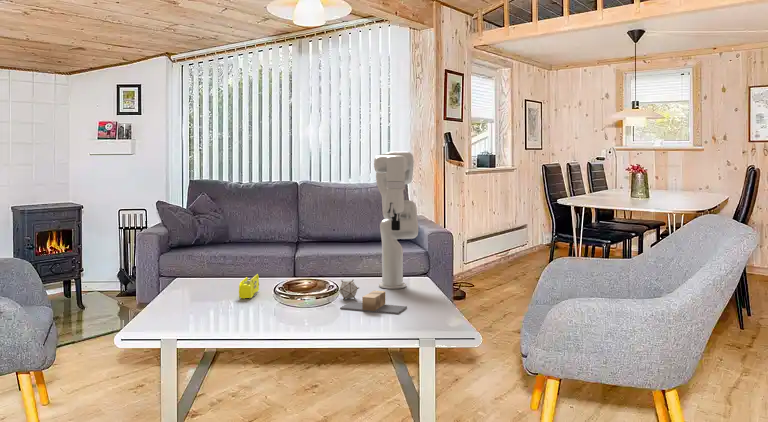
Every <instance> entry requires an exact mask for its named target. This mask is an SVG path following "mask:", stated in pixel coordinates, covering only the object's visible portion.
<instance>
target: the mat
mask: <svg viewBox="0 0 768 422" xmlns="http://www.w3.org/2000/svg"><path fill="white" fill-rule="evenodd" d="M407 308H408V306H406V305H394V304H386V303H385V304H384V305H383V306H381V307H380V308H378V309H377V310H375V311H371V310H362V301H359V302H357V301H350V302H348V303H346V304H344V305H342V306H340V308H339V309H340V310H344V311H345V310H347V311H355V312H356V311H359V312H368V313H381V314H389V315H390V314H392V315H400V314H401V313H402V312H404V311H405V310H406V309H407Z"/></svg>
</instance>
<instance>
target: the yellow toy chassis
mask: <svg viewBox="0 0 768 422" xmlns="http://www.w3.org/2000/svg"><path fill="white" fill-rule="evenodd" d="M259 290H260V277H259V274H258V273H257V274H255V275H254V276H253V277H251V278H250V277H249V278H248V276H246V277H244V279H242V280H241V281H240V282H239V285H238V298H239V299H240V298H241V299H245V298H249V299H252V298H253V296H254V295H255V296H256V295H257V294H258V292H259Z"/></svg>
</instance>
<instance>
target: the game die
mask: <svg viewBox="0 0 768 422" xmlns="http://www.w3.org/2000/svg"><path fill="white" fill-rule="evenodd" d="M358 289H360V287H358V286H357V285H356V284H355V282H354V279H352V280H347V281H344V280H342V279H341V284H340V287H339V290H338V291H339V292H338V293H340V295H341V296H342V297H343V299H342V300H343V301H344V300H345V299H354V300H356V294H357V292H358Z"/></svg>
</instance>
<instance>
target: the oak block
mask: <svg viewBox="0 0 768 422" xmlns="http://www.w3.org/2000/svg"><path fill="white" fill-rule="evenodd" d="M361 300H362V301H361V303H362V310H371V311H375V310H377V309H378V308H380V307H381V306H383V305H384V304H385V305H386V291H385V290H384V291H382V290H372V291H371V292H369V293H367V294H365V295H363V296H362V299H361Z"/></svg>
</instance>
